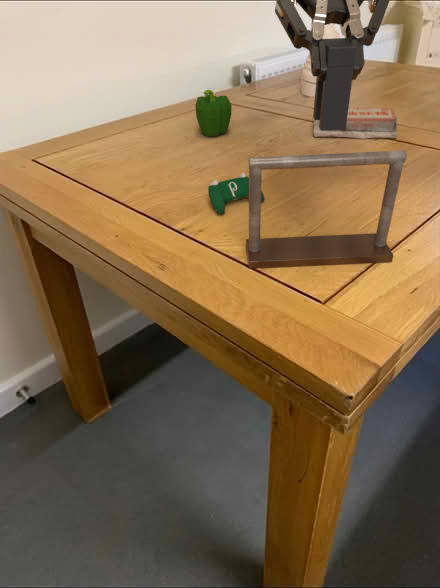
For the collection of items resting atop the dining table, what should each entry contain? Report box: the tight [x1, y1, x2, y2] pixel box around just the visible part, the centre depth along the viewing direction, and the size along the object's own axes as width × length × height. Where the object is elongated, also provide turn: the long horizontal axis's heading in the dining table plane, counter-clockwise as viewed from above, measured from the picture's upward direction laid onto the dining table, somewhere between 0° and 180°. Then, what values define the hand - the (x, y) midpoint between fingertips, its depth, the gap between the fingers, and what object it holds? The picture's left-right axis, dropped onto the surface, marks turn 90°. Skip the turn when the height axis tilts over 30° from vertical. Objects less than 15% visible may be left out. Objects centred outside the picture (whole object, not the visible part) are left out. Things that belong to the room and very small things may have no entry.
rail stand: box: [245, 149, 407, 270], centre depth 63 cm, size 20×6×15 cm, turn 92°
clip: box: [312, 37, 356, 131], centre depth 55 cm, size 5×3×9 cm, turn 1°
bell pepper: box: [194, 89, 232, 138], centre depth 106 cm, size 8×8×10 cm
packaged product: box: [312, 106, 398, 140], centre depth 105 cm, size 18×5×10 cm
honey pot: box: [299, 23, 341, 98], centre depth 128 cm, size 13×13×18 cm
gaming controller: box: [207, 172, 266, 215], centre depth 80 cm, size 9×4×6 cm
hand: (338, 76), depth 53 cm, fingers closed on clip, 3 cm apart
